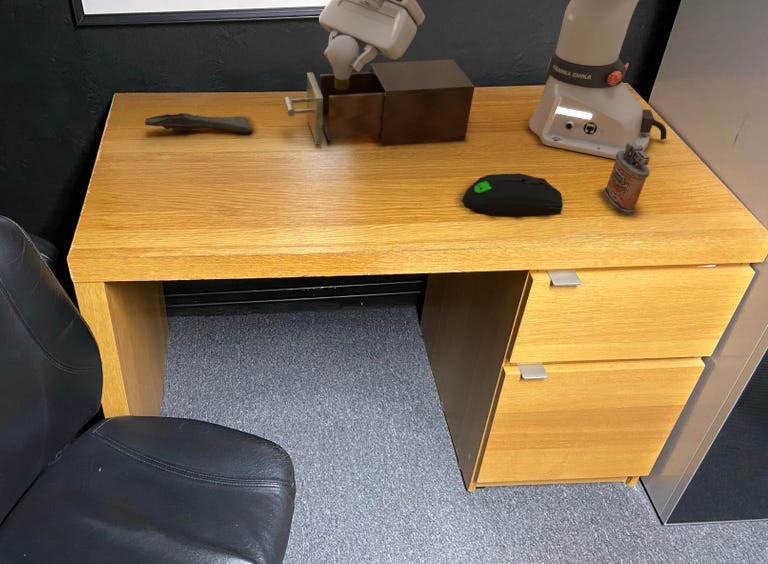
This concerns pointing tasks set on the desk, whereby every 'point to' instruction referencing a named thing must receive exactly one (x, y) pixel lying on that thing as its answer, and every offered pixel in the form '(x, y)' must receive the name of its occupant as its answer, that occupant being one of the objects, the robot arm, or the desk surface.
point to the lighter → (627, 179)
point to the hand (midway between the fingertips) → (340, 63)
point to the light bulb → (342, 59)
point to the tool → (200, 122)
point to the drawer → (342, 107)
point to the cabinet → (423, 101)
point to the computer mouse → (513, 196)
